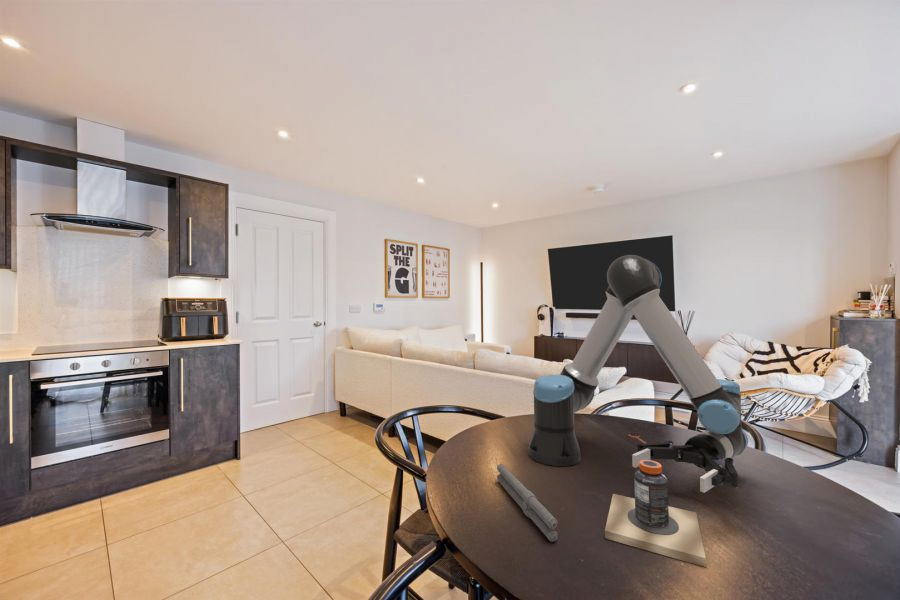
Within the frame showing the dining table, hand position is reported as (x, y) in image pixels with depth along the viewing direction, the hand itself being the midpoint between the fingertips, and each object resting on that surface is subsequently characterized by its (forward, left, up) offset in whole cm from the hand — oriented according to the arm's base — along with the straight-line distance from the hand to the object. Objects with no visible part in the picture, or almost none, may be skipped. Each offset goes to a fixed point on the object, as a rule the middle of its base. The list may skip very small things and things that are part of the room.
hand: (665, 472), depth 76 cm
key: (-4, +48, -10) cm, 49 cm away
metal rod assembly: (-28, -10, -10) cm, 31 cm away
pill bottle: (-3, -5, -8) cm, 10 cm away
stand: (-3, -5, -10) cm, 11 cm away
